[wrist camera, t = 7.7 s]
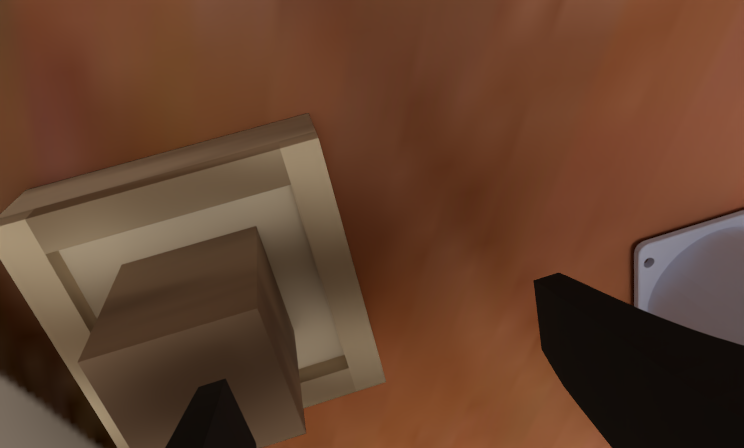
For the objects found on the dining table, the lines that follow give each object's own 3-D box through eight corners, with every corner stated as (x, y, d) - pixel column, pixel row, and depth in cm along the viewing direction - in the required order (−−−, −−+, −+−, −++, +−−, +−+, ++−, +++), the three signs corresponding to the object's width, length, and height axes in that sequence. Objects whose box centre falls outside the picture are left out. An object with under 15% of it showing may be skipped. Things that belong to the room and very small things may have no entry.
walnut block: (294, 331, 20) (306, 433, 16) (174, 368, 20) (151, 483, 15) (256, 225, 18) (257, 308, 14) (121, 264, 18) (77, 362, 13)
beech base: (369, 331, 24) (386, 381, 21) (144, 401, 23) (128, 464, 20) (308, 113, 19) (318, 138, 16) (25, 190, 18) (-18, 231, 16)
